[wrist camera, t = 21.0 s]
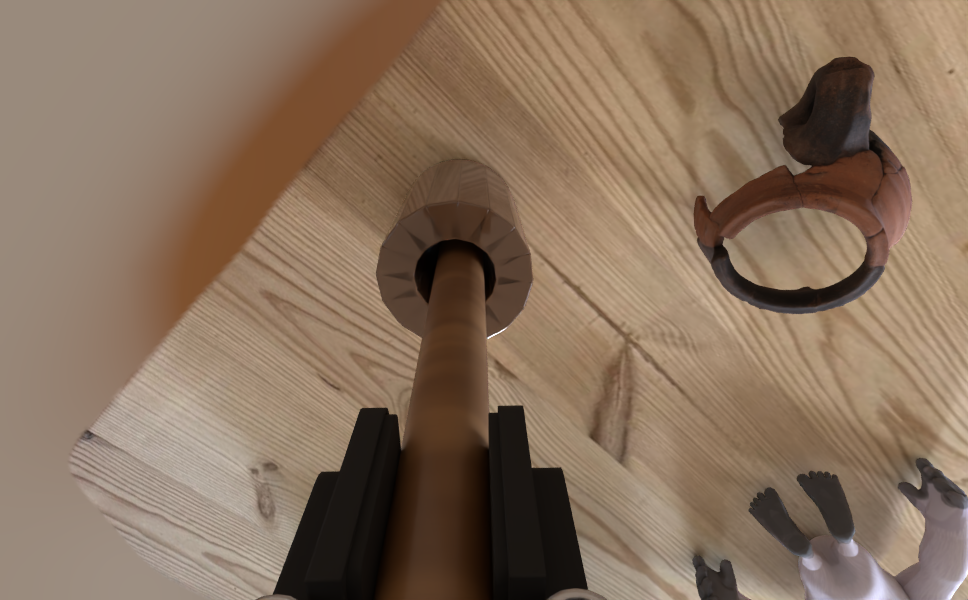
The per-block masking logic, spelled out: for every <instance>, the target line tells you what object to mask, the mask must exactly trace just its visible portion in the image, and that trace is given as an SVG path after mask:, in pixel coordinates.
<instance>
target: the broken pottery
mask: <svg viewBox="0 0 968 600" xmlns="http://www.w3.org/2000/svg"><path fill="white" fill-rule="evenodd" d="M873 80H874V72H873V70H872V68H871V67H870V66H869V65H867V64H864V63H862V62H860V61H859V60H858V59H857V58H855V57H840V58H835V59H833V60H832V61H831V62H830V63H828V64H826V65H825V66H823V67H821V68H819V69H818V70H817V71H816V72H815V73H814V75H813V77H812V78H811V80H810V83H809V84H808V87H807V88H806V91H805V93H804V95H803V97H802V98H801V100H800V102H799V103H798V104H797V105H795V106H794V107H793V108H792V109H790V110H789V111H787V112H786V113H785V114H783V115H782V116H780V117H779V119H778V121H779V123H780V125H782V126H783V128H784V129H783V134H784V138H783V145H784V147H785V149H786V150H787V151H788V152H789V153H790V155H791V156H792V158H794V159H795V160H796V161H797V162H800V163H802V164H804V165H812V167H811V168H810V169H808V170H807V171H805V172H803V173H800V174H798V175H795V176H794V175H792V173H791V172H790V171H789V169H788V167H787V166H786V165H783V166H780V167H777V168H775V169H774V170H772V171H770V172H768V173H766V174H764V175H762V176H760V177H759V178H756V179H754V180H752V181H750V182H748V183H747V184H745V185H744V186H743V187H741V188H740V189H739V190H737V191H736V192H734V193H733V194H731V195H730V196H728V197H727V198H725V199H724V200H723V201H722V202H721V203H720V204H719V205H718V206H717V207H716V208H715V209H714V210H713V212H712V213H711V212H710V211H709V210H708V207H707V204H706V199H705V197H704V196H698V197H697V198H696V201H695V207H694V226H695V230H696V234H697V236H698V239H697V242H698V245H699V247H700V248H701V250H702V252H703V253H704V255H705V256H706V258H707V259H708V260H709V262H710V263H711V265H712V268H713V270H714V273H715V275H716V277H717V278H718V279H719V281H720V282H721V284H722V285H723V287H724V288H725V289H726V290H727V291H729V292H730V293H731V294H732V295H734V296H735V297H737V298H739V299H740V300H742V301H747V302H748V303H749V304H750V305H753V306H755V307H758V308H759V309H766V310H770V311H774V312H777V313H789V314H804V313H815V312H818V311H825V310H828V309H832V308H835V307H839V306H843V305H844V304H846V303H848V302H851V301H853V300H855V299H857V298H858V297H860V296H861V295H863V294H864V293H865V292H866V291H867V290H869V289H870V288H871V287H872V286H873V285H874V284H875V283H876V282H877V280H878V279H879V278H880V276H881V275H882V273H883V272H884V269H885V267H884V265H885V264H886V262H887V260H888V256H889V249H890V248H891V247H892V246H893V245H895V244H897V243H898V241H899V240H900V239H901V238H902V236H903V235H904V233H905V231H906V229H907V226H908V223H909V219H910V213H911V207H912V195H911V185H910V180H909V177H908V174H907V172H906V169H905V168H904V167H903V166H902V165H901V163H900V161H899V160H898V158H897V157H896V156H895V154H894V153H893V152H892V151H891V149H890V148H889V147H888V146H887V145H886V144H885V143H884V142H883V141H882V140H881V139H880V138H879V137H878V136H877V135H876V134H875V133H874V132H873V131H871V130H870V123H871V109H870V99H871V92H872V84H873ZM801 207H805V208H810V209H819V210H823V211H827V212H831V213H834V214H837V215H839V216H841V217H843V218H845V219H847V220H849V221H850V222H852V223H853V224H854V225H856V226H857V227H858V228H859V229H860V231H861V232H862V233H863V235H864V237H865V240H866V242H867V252H866V255H865V260H864V262H863V263H862V264H861V266H860V267H859V268H858V269H857V270H856V271H855V272H854V273H853V274H851V275H850V276H849V277H847V278H845V279H844V280H842V281H840V282H838V283H836V284H834V285H831V286H829V287H826V288H822V289H811V288H810V287H803V288H800V289H797V290H778V289H773V288H768V287H763V286H759V285H756V284H754V283H752V282H751V281H748V280H747V279H745V278H744V277H742V276H741V275H740V274H739V273H738V272H737V271H736V270H735V269H734V267H733V265H732V263H731V261H730V259H729V254H728V251H727V249H726V248H725V247H724V246H723V245H722V244H723V240H724V237H726V238H729V239H732V238H734V237H735V236H736V235H737V234H738V233H739V232H740V231H741V230H742V229H744V228H745V227H746V226H747V225H748V224H750V223H751V222H753V221H754V220H756V219H758V218H761V217H763V216H766V215H768V214H771V213H775V212H779V211H785V210H790V209H795V208H801Z"/></svg>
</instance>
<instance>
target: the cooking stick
mask: <svg viewBox="0 0 968 600" xmlns="http://www.w3.org/2000/svg"><path fill="white" fill-rule="evenodd" d="M488 413H489V389H488V363H487V337H486V312H485V286H484V260H483V250H482V249H481V248H479V247H478V246H476V245H475V244H474V243H472V242H467V241H463V240H459V239H451V240H444V241H441V243H440V248H439V253H438V258H437V264H436V269H435V274H434V279H433V284H432V290H431V295H430V300H429V305H428V311H427V316H426V321H425V326H424V331H423V337H422V342H421V347H420V352H419V357H418V363H417V368H416V373H415V378H414V383H413V389H412V394H411V399H410V404H409V410H408V415H407V420H406V425H405V430H404V436H403V441H402V446H401V454H400V459H399V464H398V469H397V475H396V480H395V485H394V491H393V496H392V501H391V506H390V512H389V517H388V522H387V527H386V533H385V538H384V543H383V548H382V554H381V559H380V564H379V569H378V575H377V580H376V585H375V590H374V596H373V600H493V569H492V539H491V508H490V478H489V435H488Z"/></svg>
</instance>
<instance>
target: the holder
mask: <svg viewBox="0 0 968 600" xmlns="http://www.w3.org/2000/svg"><path fill="white" fill-rule="evenodd" d="M451 239H459V240H463V241H467V242H472V243H474V244H475V245H476V246H478V247H479V248H481V249H482V250H483V260H484V286H485V312H486V337H487V339H488V338H490V337H492V336H494V335H496V334H498V333H499V332H501V331H503V330H505V329H507V328H508V327H509V325H510V324H511V323H512V322H513V321H514V320H515V319H516V317H517V316H518V315H519V314H520V313H521V312H522V311H523V309H524V307H525V305H526V302H527V299H528V296H529V293H530V290H531V287H532V284H533V271H532V262H531V254H530V250H529V247H528V244H527V240H526V237H525V233H524V230H523V227H522V223H521V220H520V217H519V213H518V210H517V206H516V203H515V200H514V197H513V196H512V194H511V192H510V190H509V187H508V186H507V184H506V183H505V181H504V180H503V179H502V178H501V177H500V176H499V175H498V174H497V173H496V172H495V171H494V170H492V169H491V168H489V167H488V166H485V165H483V164H481V163H479V162H476V161H472V160H467V159H452V160H447V161H443V162H440V163H437V164H435V165H433V166H431V167H429V168H428V169H427V170H425V171H424V172H423V173H422V174H420V176H419V177H418V178H417V179H416V180H415V182H414V183H413V185H412V186H411V188H410V189H409V191H408V192H407V194H406V196H405V198H404V200H403V202H402V204H401V207H400V209H399V211H398V213H397V215H396V217H395V219H394V221H393V223H392V225H391V227H390V229H389V231H388V233H387V235H386V237H385V239H384V241H383V243H382V245H381V248H380V254H379V259H378V265H377V270H376V277H377V281H378V285H379V289H380V293H381V297H382V301H383V302H384V304H385V305H386V306H387V308H388V309H389V310H390V312H391V313H392V314H393V316H394V317H395V318H396V320H397V321H398V322H399V323H400V324H401V325H402V326H404V327H405V328H407V329H408V330H410V331H412V332H413V333H415V334H416V335H418V336H420V337H421V338H422V337H423V331H424V326H425V321H426V316H427V311H428V305H429V300H430V295H431V290H432V284H433V279H434V274H435V269H436V264H437V258H438V253H439V248H440V243H441V241H444V240H451Z"/></svg>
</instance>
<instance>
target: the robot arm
mask: <svg viewBox="0 0 968 600" xmlns="http://www.w3.org/2000/svg"><path fill="white" fill-rule="evenodd" d="M488 435H489V478H490V508H491V539H492V569H493V600H607V599H606V598H604V597H603V596H601V595H599V594H597V593H594V592H592V591H590V590H588V587H587V582H586V577H585V573H584V568H583V563H582V559H581V554H580V549H579V544H578V540H577V535H576V530H575V525H574V521H573V516H572V511H571V507H570V502H569V497H568V492H567V488H566V483H565V478H564V474H563V471H562V469H561V468H532V467H531V460H530V452H529V445H528V438H527V430H526V423H525V416H524V409H523V406H498V413H488ZM400 454H401V444H400V434H399V425H398V417H397V415H396V414H390V415H389V411H388V408H362V409H360V412H359V414H358V417H357V421H356V424H355V427H354V430H353V433H352V436H351V439H350V442H349V445H348V448H347V451H346V454H345V457H344V460H343V463H342V466H341V469H340V471H338V472H321V473H320V474H319V475H318V477H317V479H316V481H315V484H314V487H313V489H312V492H311V495H310V497H309V500H308V503H307V505H306V508H305V511H304V513H303V516H302V518H301V521H300V524H299V526H298V529H297V532H296V534H295V537H294V540H293V542H292V545H291V548H290V550H289V553H288V556H287V558H286V561H285V564H284V566H283V569H282V571H281V574H280V577H279V579H278V582H277V585H276V587H275V590H274V593H273V595H269V596H263V597H260V598H258V599H256V600H373V596H374V590H375V585H376V580H377V575H378V569H379V564H380V559H381V554H382V548H383V543H384V538H385V533H386V527H387V522H388V517H389V512H390V506H391V501H392V496H393V491H394V485H395V480H396V475H397V469H398V464H399V459H400Z"/></svg>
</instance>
